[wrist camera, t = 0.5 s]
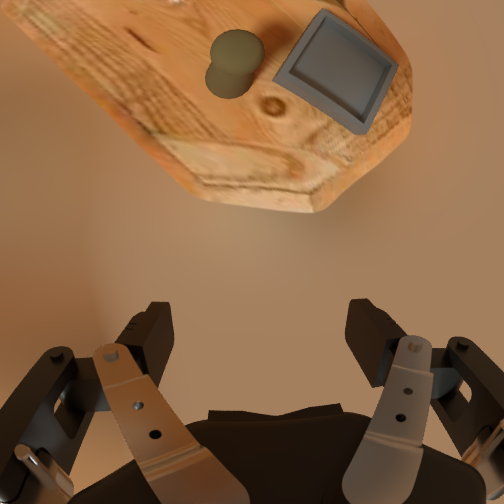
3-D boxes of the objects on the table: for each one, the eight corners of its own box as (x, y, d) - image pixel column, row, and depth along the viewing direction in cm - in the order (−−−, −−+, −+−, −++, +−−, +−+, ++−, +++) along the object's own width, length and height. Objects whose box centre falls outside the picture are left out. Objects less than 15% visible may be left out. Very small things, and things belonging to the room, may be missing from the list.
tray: (271, 80, 31) (277, 74, 28) (314, 16, 28) (322, 7, 25) (355, 135, 35) (366, 134, 32) (387, 68, 32) (398, 65, 29)
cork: (258, 66, 30) (280, 33, 20) (243, 105, 32) (259, 82, 21) (215, 52, 28) (220, 14, 18) (198, 91, 30) (196, 62, 20)
